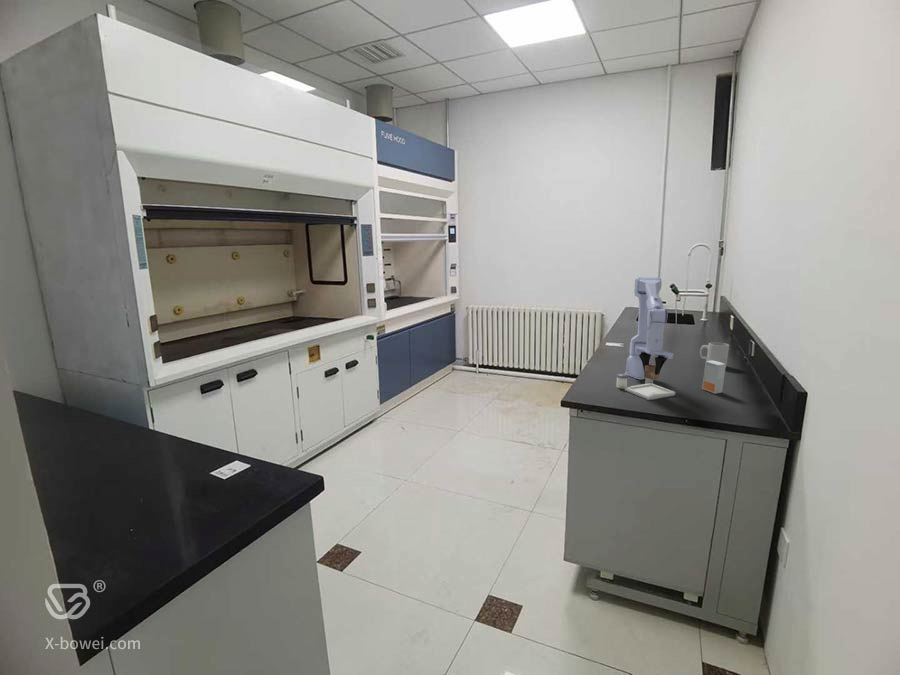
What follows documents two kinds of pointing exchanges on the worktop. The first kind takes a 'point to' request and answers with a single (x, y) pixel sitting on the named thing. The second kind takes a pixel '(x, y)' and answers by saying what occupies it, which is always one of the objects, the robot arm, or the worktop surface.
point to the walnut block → (650, 372)
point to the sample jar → (621, 381)
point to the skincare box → (713, 376)
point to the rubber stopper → (648, 381)
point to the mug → (716, 352)
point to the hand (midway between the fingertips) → (651, 372)
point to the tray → (649, 391)
